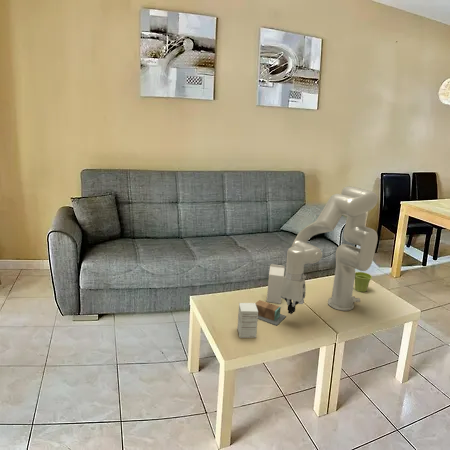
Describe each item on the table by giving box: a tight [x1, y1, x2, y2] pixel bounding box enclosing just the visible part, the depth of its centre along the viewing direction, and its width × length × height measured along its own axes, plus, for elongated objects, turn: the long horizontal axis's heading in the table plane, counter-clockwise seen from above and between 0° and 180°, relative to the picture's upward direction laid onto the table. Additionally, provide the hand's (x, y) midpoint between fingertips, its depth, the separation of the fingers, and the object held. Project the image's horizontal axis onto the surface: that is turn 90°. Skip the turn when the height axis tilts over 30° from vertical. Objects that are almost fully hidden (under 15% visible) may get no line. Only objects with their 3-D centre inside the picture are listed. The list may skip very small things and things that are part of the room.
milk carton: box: [266, 263, 286, 304], centre depth 194 cm, size 7×7×19 cm
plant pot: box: [354, 271, 373, 293], centre depth 212 cm, size 9×9×9 cm
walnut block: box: [254, 299, 282, 321], centre depth 180 cm, size 5×5×11 cm
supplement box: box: [236, 302, 259, 339], centre depth 164 cm, size 7×7×13 cm
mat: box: [258, 313, 287, 327], centre depth 180 cm, size 14×10×1 cm
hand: (291, 312), depth 174 cm, fingers closed
